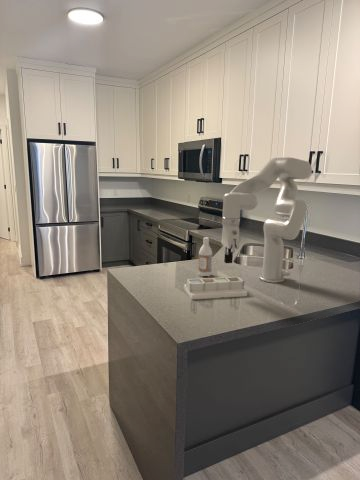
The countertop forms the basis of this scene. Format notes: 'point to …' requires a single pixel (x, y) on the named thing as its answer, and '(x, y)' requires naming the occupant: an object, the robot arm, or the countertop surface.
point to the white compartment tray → (215, 288)
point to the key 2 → (220, 280)
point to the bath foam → (205, 259)
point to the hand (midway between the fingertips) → (228, 262)
